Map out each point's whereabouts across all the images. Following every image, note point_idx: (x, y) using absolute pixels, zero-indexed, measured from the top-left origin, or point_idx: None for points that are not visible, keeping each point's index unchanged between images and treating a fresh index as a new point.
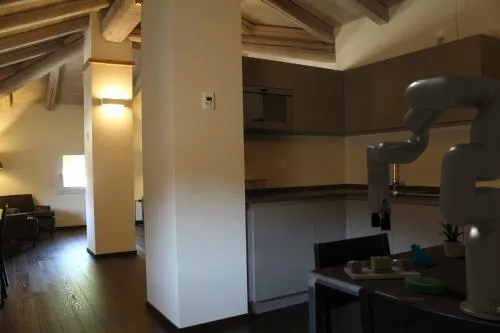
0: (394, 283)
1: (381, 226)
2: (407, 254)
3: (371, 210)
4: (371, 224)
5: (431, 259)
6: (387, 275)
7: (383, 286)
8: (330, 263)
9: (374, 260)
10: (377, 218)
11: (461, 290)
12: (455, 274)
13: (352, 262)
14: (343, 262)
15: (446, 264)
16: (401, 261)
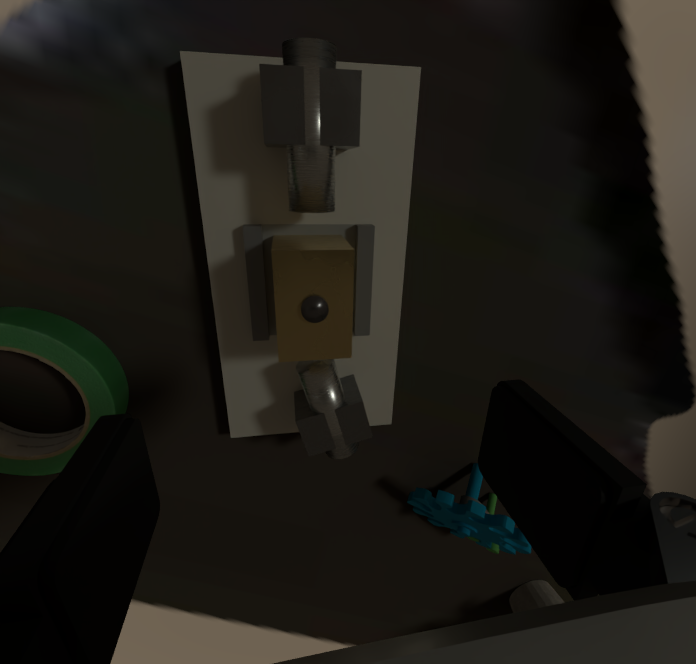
0: (114, 282)
1: (76, 452)
2: None
3: (504, 659)
4: (533, 395)
5: (451, 532)
6: (211, 284)
7: (36, 202)
8: (621, 44)
9: (272, 248)
10: (552, 532)
11: (28, 500)
12: (279, 542)
13: (284, 70)
14: (609, 148)
15: (427, 553)
16: (313, 407)
